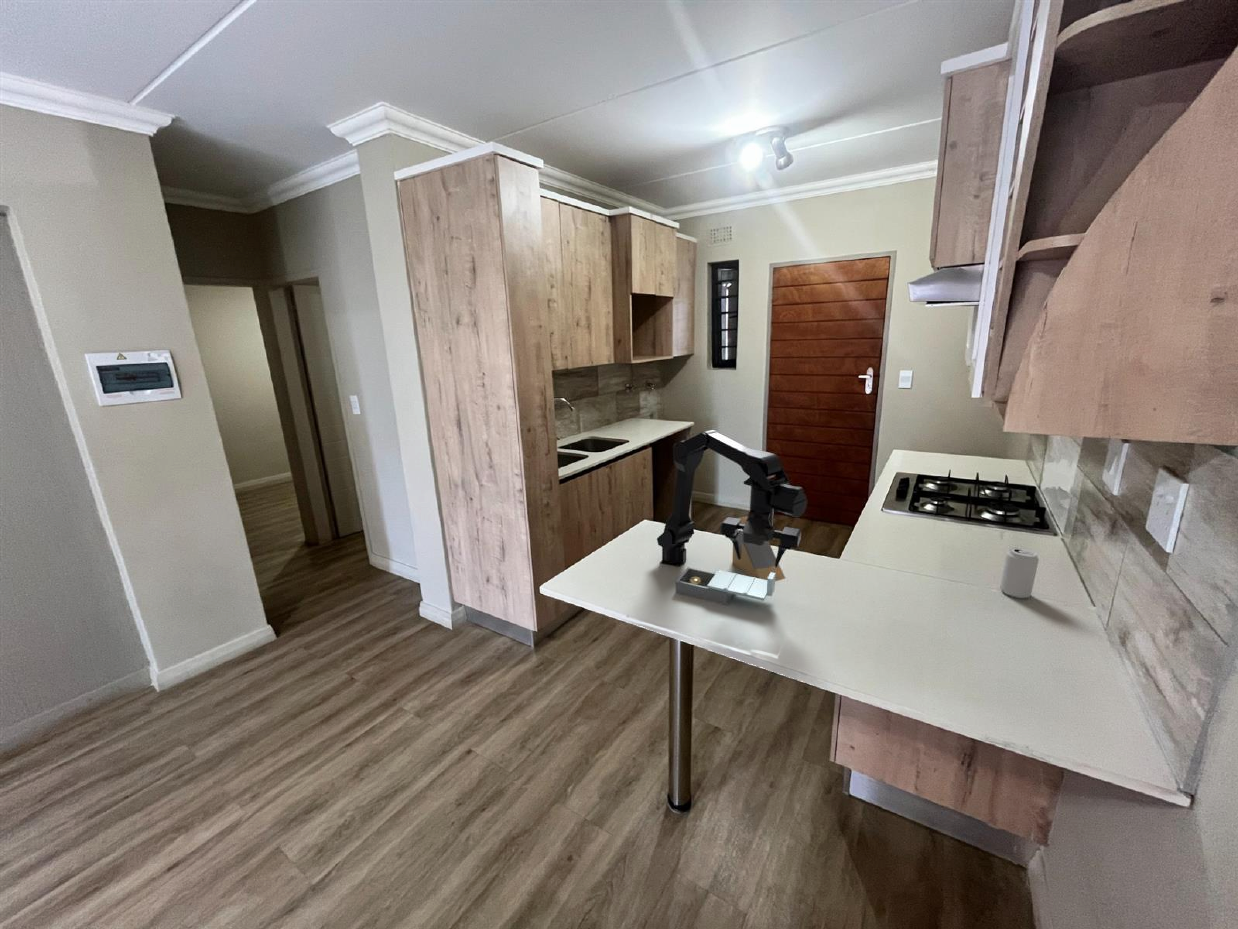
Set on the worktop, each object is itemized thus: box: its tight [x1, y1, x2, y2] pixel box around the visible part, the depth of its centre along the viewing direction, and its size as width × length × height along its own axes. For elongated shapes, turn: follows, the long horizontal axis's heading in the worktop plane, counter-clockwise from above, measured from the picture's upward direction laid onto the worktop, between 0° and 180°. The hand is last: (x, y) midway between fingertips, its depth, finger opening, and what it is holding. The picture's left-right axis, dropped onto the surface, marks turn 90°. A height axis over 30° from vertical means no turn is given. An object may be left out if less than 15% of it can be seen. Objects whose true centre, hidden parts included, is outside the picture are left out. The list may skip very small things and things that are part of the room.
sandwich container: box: [732, 516, 786, 582], centre depth 139 cm, size 9×15×15 cm, turn 21°
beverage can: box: [999, 546, 1040, 599], centre depth 124 cm, size 6×6×12 cm
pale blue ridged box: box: [707, 569, 776, 602], centre depth 124 cm, size 16×9×5 cm, turn 61°
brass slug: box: [690, 577, 701, 586], centre depth 131 cm, size 3×3×3 cm
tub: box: [675, 566, 734, 606], centre depth 130 cm, size 14×9×4 cm, turn 61°
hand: (757, 562), depth 122 cm, fingers open, 9 cm apart
